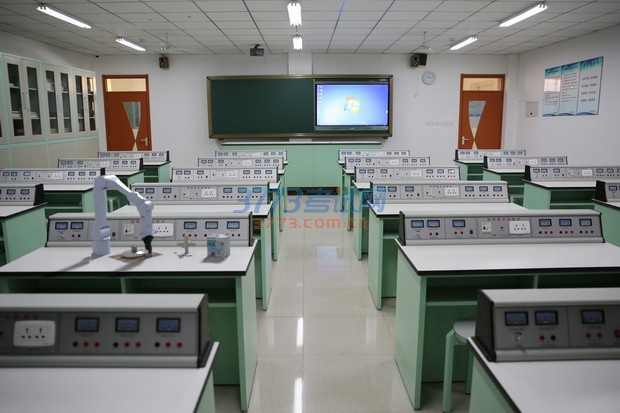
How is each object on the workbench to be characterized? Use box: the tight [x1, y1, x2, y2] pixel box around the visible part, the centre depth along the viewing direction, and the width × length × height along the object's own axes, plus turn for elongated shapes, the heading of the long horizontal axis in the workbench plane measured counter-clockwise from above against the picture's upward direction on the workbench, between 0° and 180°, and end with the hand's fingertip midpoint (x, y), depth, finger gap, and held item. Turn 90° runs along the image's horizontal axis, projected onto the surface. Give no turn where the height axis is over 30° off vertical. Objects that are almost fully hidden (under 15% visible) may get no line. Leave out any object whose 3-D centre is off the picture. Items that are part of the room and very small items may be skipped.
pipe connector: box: [176, 234, 197, 254], centre depth 242 cm, size 10×10×10 cm
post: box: [130, 244, 138, 253], centre depth 233 cm, size 3×3×3 cm
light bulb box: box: [206, 233, 231, 258], centre depth 238 cm, size 11×7×11 cm, turn 76°
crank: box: [121, 244, 155, 258], centre depth 233 cm, size 16×12×6 cm
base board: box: [108, 248, 164, 265], centre depth 234 cm, size 20×20×1 cm
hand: (148, 249), depth 231 cm, fingers closed, pressing on crank
